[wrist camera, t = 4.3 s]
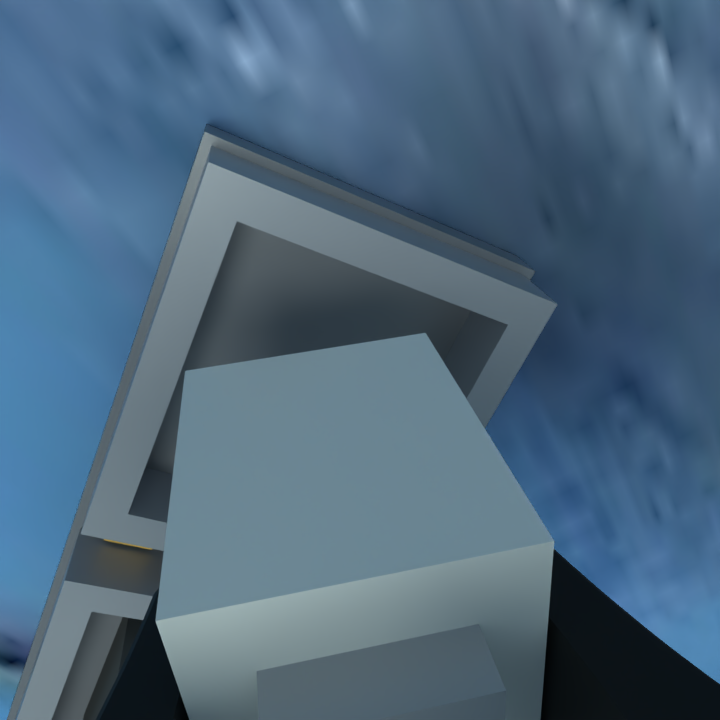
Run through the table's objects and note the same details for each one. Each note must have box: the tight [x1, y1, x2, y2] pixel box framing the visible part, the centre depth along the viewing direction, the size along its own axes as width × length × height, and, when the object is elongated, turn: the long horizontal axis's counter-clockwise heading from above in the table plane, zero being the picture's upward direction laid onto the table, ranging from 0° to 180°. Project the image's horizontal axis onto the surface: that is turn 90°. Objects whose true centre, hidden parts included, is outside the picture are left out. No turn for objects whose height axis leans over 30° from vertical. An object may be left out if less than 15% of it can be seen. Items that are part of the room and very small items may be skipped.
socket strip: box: [7, 124, 557, 720], centre depth 17 cm, size 8×19×3 cm, turn 155°
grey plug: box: [155, 333, 554, 720], centre depth 9 cm, size 4×5×6 cm
